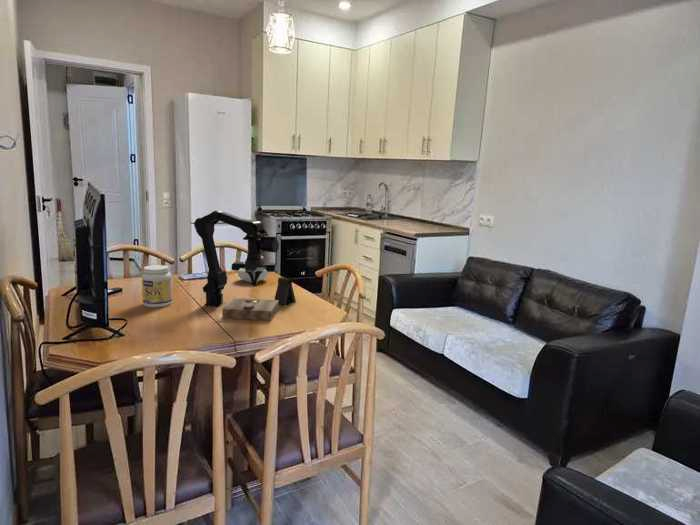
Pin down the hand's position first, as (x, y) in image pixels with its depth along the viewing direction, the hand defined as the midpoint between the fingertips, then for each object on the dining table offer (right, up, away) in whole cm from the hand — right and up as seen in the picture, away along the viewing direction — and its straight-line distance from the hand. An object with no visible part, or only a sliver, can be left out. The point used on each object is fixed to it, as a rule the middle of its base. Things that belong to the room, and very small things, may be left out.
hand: (254, 286), depth 200 cm
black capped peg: (-1, -10, -8) cm, 13 cm away
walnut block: (-1, -12, -3) cm, 12 cm away
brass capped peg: (0, -11, +2) cm, 11 cm away
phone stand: (+11, -9, +15) cm, 20 cm away
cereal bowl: (-12, 0, +56) cm, 57 cm away
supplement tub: (-44, -9, +5) cm, 45 cm away
